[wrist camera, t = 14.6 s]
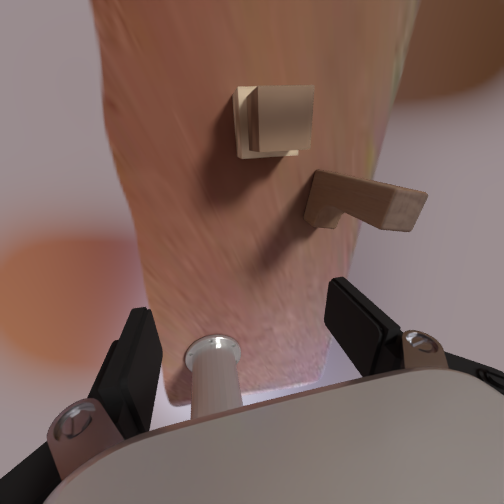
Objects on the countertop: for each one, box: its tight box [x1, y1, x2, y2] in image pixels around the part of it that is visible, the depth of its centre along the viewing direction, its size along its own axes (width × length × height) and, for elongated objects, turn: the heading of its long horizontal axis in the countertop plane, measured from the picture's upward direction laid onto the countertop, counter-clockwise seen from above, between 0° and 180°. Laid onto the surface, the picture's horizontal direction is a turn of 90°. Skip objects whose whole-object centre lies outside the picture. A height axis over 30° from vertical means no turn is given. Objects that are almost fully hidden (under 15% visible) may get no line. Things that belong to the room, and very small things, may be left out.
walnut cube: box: [246, 85, 314, 152], centre depth 26 cm, size 6×6×6 cm
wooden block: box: [303, 170, 428, 232], centre depth 33 cm, size 9×4×18 cm, turn 171°
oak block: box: [232, 86, 298, 159], centre depth 31 cm, size 8×8×5 cm
